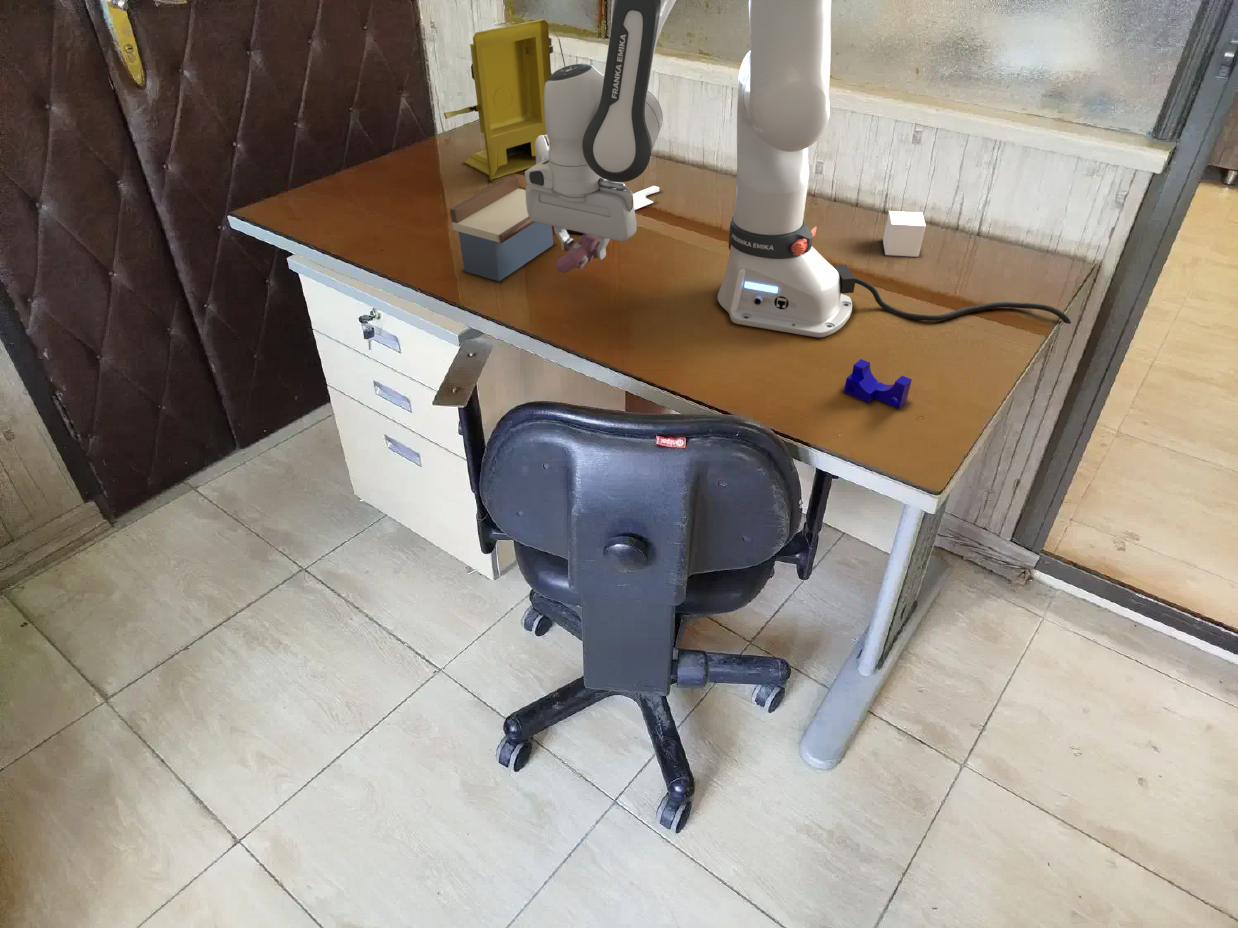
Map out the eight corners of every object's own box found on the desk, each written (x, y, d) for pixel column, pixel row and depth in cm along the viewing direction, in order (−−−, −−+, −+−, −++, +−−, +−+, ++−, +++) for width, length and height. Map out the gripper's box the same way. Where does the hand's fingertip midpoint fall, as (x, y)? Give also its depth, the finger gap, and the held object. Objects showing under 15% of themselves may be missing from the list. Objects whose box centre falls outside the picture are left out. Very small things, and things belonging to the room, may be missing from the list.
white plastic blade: (670, 196, 176) (670, 191, 175) (618, 217, 168) (618, 212, 168) (653, 189, 179) (654, 184, 178) (601, 209, 171) (601, 204, 170)
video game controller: (572, 285, 141) (584, 255, 136) (551, 269, 142) (563, 238, 137) (604, 262, 148) (617, 232, 142) (584, 246, 148) (596, 216, 143)
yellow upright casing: (549, 139, 204) (540, 2, 185) (584, 154, 196) (578, 13, 176) (438, 171, 189) (415, 26, 170) (471, 189, 181) (450, 39, 161)
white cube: (915, 242, 157) (922, 212, 153) (918, 257, 153) (926, 226, 149) (882, 240, 158) (889, 210, 154) (885, 255, 154) (891, 224, 150)
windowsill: (565, 246, 158) (561, 186, 151) (508, 286, 147) (501, 222, 139) (518, 234, 163) (512, 174, 155) (459, 271, 151) (449, 209, 143)
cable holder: (843, 392, 120) (848, 369, 118) (856, 381, 122) (860, 358, 120) (894, 413, 116) (899, 390, 114) (905, 402, 118) (911, 379, 116)
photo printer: (536, 188, 180) (531, 130, 172) (556, 186, 181) (552, 128, 173) (543, 207, 173) (539, 147, 165) (564, 205, 173) (560, 145, 165)
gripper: (642, 178, 131) (644, 258, 140) (538, 158, 140) (547, 235, 149) (621, 192, 127) (625, 274, 136) (516, 171, 136) (526, 249, 145)
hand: (583, 253), depth 142 cm, fingers closed on video game controller, 5 cm apart
